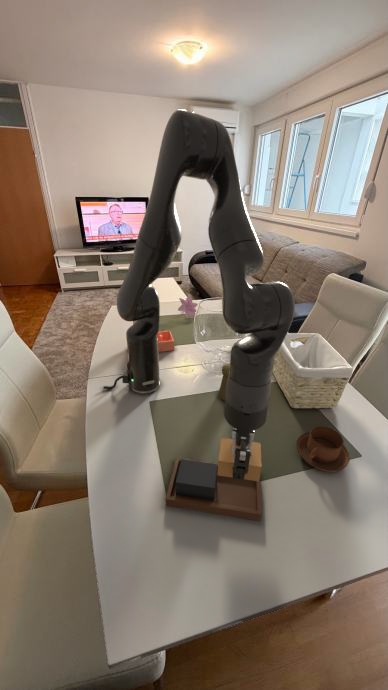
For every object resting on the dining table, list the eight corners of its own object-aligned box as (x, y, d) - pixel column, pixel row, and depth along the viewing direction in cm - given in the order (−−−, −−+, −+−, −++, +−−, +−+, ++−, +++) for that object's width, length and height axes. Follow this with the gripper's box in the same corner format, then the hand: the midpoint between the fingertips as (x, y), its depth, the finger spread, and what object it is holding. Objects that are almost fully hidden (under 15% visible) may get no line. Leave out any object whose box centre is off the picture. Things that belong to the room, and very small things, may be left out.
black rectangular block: (175, 494, 63) (175, 482, 61) (181, 471, 68) (181, 458, 66) (213, 500, 62) (214, 488, 60) (216, 476, 67) (217, 464, 65)
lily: (173, 320, 147) (180, 307, 141) (171, 304, 155) (178, 291, 148) (195, 325, 152) (203, 312, 145) (192, 309, 159) (200, 296, 153)
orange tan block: (217, 475, 58) (218, 461, 56) (219, 451, 63) (220, 437, 61) (259, 481, 57) (261, 467, 55) (258, 456, 62) (260, 442, 60)
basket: (267, 368, 108) (273, 331, 101) (311, 368, 109) (320, 331, 102) (289, 412, 87) (298, 370, 80) (342, 411, 88) (356, 369, 81)
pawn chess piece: (236, 402, 91) (240, 372, 86) (217, 399, 92) (219, 369, 87) (238, 390, 96) (241, 361, 91) (219, 388, 97) (221, 359, 92)
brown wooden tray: (165, 505, 61) (165, 499, 60) (176, 463, 70) (176, 457, 69) (260, 521, 59) (261, 514, 58) (258, 475, 68) (259, 469, 67)
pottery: (170, 339, 127) (169, 318, 122) (174, 350, 119) (174, 327, 114) (127, 343, 123) (125, 321, 118) (128, 354, 115) (126, 331, 110)
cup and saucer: (343, 485, 66) (350, 465, 63) (289, 461, 72) (294, 442, 69) (350, 449, 75) (357, 431, 72) (302, 430, 81) (306, 413, 78)
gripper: (227, 372, 59) (222, 435, 66) (222, 422, 46) (216, 493, 54) (266, 376, 58) (256, 439, 65) (272, 428, 45) (258, 499, 53)
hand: (238, 463), depth 60 cm, fingers closed on orange tan block, 6 cm apart
